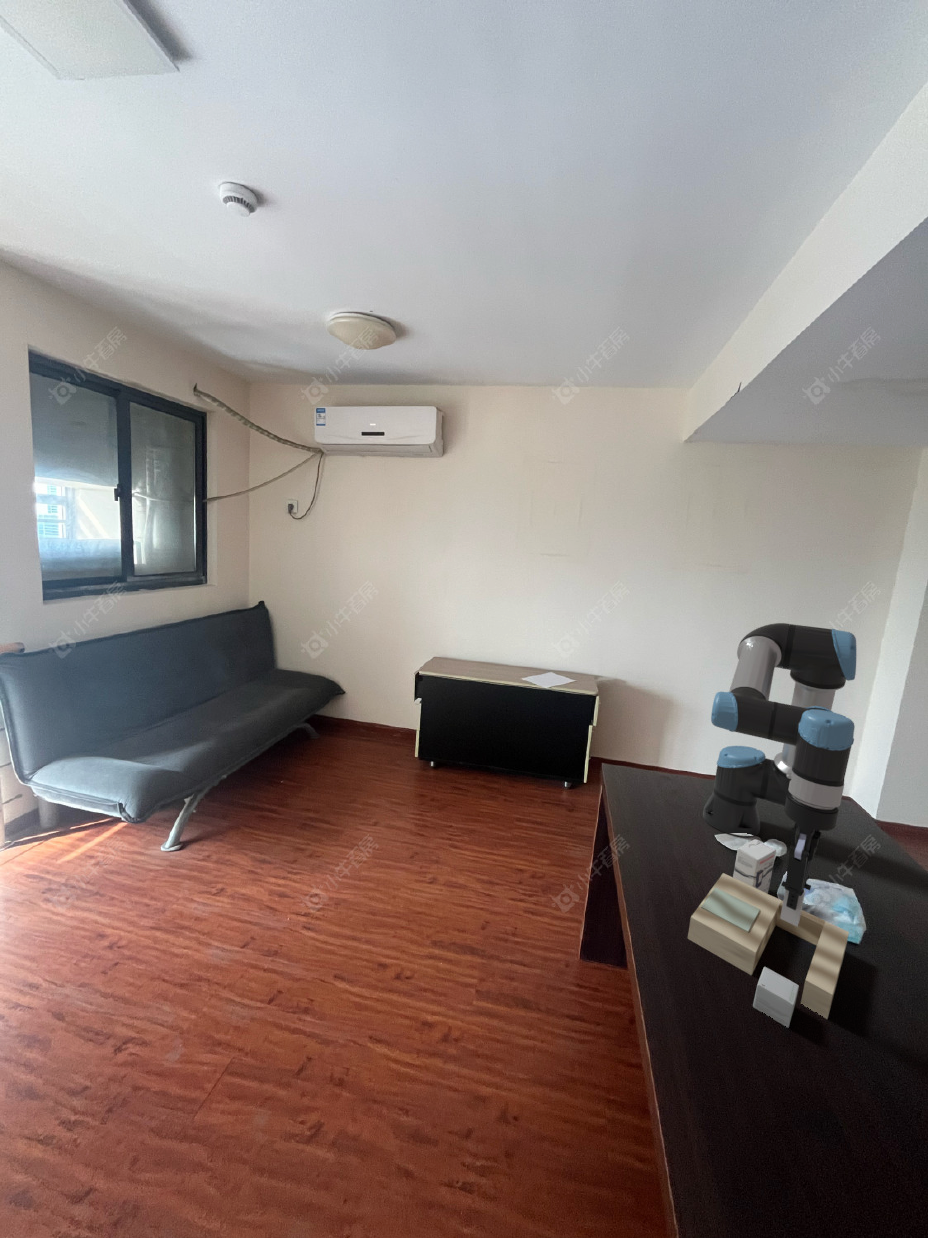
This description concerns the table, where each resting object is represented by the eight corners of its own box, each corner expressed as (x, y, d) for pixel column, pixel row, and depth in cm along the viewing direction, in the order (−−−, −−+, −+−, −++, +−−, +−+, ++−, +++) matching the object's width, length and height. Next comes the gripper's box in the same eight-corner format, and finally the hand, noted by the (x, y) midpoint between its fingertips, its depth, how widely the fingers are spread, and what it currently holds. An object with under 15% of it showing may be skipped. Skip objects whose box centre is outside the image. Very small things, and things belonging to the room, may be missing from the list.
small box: (789, 1030, 85) (794, 1005, 84) (751, 1007, 89) (756, 983, 88) (795, 1008, 89) (799, 984, 89) (759, 988, 93) (763, 964, 92)
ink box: (750, 906, 115) (758, 859, 113) (729, 893, 119) (736, 847, 117) (768, 894, 119) (777, 849, 118) (747, 881, 123) (755, 838, 122)
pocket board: (720, 892, 119) (723, 871, 118) (844, 953, 103) (849, 930, 102) (687, 938, 104) (691, 915, 103) (827, 1019, 88) (832, 993, 87)
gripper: (795, 780, 94) (774, 893, 98) (779, 802, 85) (756, 926, 88) (844, 796, 89) (820, 914, 93) (833, 821, 80) (807, 952, 83)
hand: (789, 920), depth 91 cm, fingers closed
